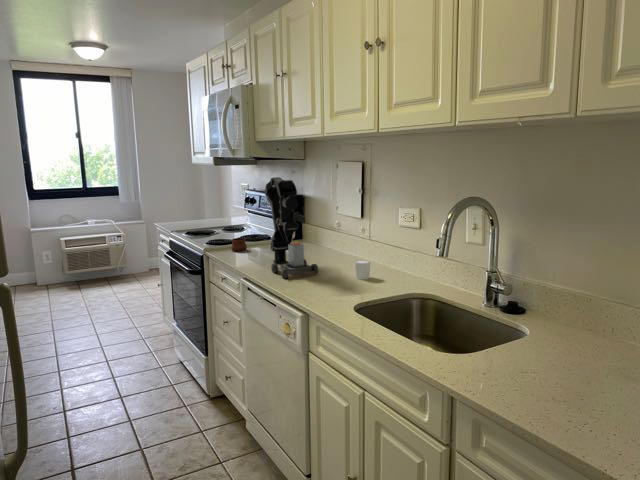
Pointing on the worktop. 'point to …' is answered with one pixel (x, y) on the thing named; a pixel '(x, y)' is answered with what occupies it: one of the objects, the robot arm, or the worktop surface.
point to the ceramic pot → (239, 245)
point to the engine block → (296, 255)
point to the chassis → (295, 270)
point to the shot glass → (362, 269)
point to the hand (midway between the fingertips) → (287, 241)
